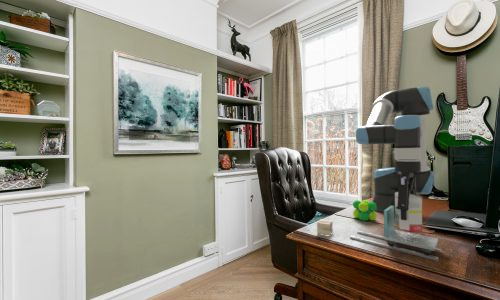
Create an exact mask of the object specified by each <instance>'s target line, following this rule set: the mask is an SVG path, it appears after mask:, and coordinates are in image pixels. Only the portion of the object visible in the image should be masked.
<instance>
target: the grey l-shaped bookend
mask: <svg viewBox="0 0 500 300" xmlns="http://www.w3.org/2000/svg"><path fill="white" fill-rule="evenodd" d="M383 236H384V239H385V240H386V243H387V245H389V246H395V245H396V243H397V242H398V243H397V244H401V243H402V245H406V244H407V245H406V246H410V245H411V247H414V246H415V247H416V248H418V247H419V249H421V251H422V252H421V253H423V254H425V255H431V253H432V252H435V251H434V250H435V248H437V245H438V243H439V238H438V237H433V236H428V235H424V234H420V233H419V234H417V233H411V232H409V233H408V232H406V231H404V230H400V229H399V230H398V229H395V213H394V206H390V207H388V208H387V209H385V210H384V212H383ZM384 239H383V240H384ZM422 248H423V249H422ZM431 250H432V251H431Z"/></svg>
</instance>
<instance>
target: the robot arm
mask: <svg viewBox="0 0 500 300" xmlns="http://www.w3.org/2000/svg"><path fill="white" fill-rule="evenodd" d="M432 99H433V98H432V92H431V88H430V87H428V86H416V87H410V88H409V87H408V88H403V89H394V90H390V91H387V92H386V93H383V94H382V95H380V96H379V97H378V98H376V99H375V101H374V102H373V103H372V105H371V113H370V115H369V117H368V119H367V122H366V124H365V125H363V126H358V127H357V128H356V131H355V139H356V140H355V141H356V142H357V144H358V145H368V146H369V145H392V144H394V150H393V151H392V154H394V160H395V161H394V167H385V168H378V169H376V170H374V176H373V178H374V195H373V198H372V201H371V202H374V203H375V204H376V206H377V209H376V210H375V211H374V212H379V213H384V210H385V209H387V208H388V207H390V206H394V214H395V193H396V192H398V206H397V207H396V209H399V227H398V229H399V230H403V229H404V230H410V224H409V210H408V209H409V208H408V207H409V197H410V194H413V195H415V196H418V195H429V194H431V192H432V189H433V184H434V178H435V177H434V176H435V173H434V171H431V167H429V166H428V165H427V117H428V116H430V113H431V111H433V110H434V105H433V100H432ZM391 114H401V115H398V116H395V117H394V122H393V124H387V123H388V121H389V120H388V119H389V117H390V116H391ZM404 230H403V231H404Z"/></svg>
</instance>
